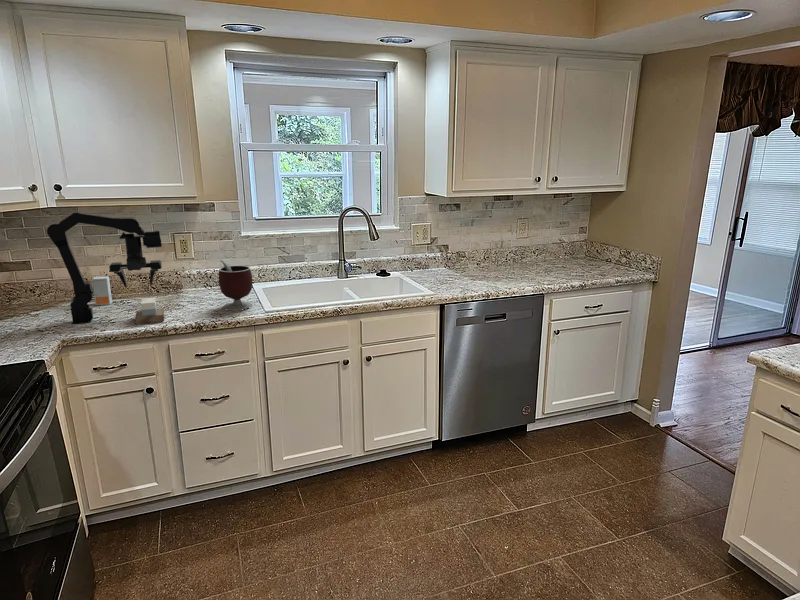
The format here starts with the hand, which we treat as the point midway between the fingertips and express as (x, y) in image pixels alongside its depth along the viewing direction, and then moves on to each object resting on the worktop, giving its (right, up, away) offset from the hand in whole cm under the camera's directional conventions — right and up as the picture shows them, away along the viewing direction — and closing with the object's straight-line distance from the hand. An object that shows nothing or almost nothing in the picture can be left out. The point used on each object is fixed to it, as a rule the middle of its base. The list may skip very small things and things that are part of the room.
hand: (138, 286), depth 217 cm
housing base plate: (+7, -11, -5) cm, 13 cm away
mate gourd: (+36, -9, +15) cm, 40 cm away
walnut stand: (+7, -13, -4) cm, 16 cm away
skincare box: (-24, -7, +18) cm, 31 cm away
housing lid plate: (+7, -8, -5) cm, 12 cm away
